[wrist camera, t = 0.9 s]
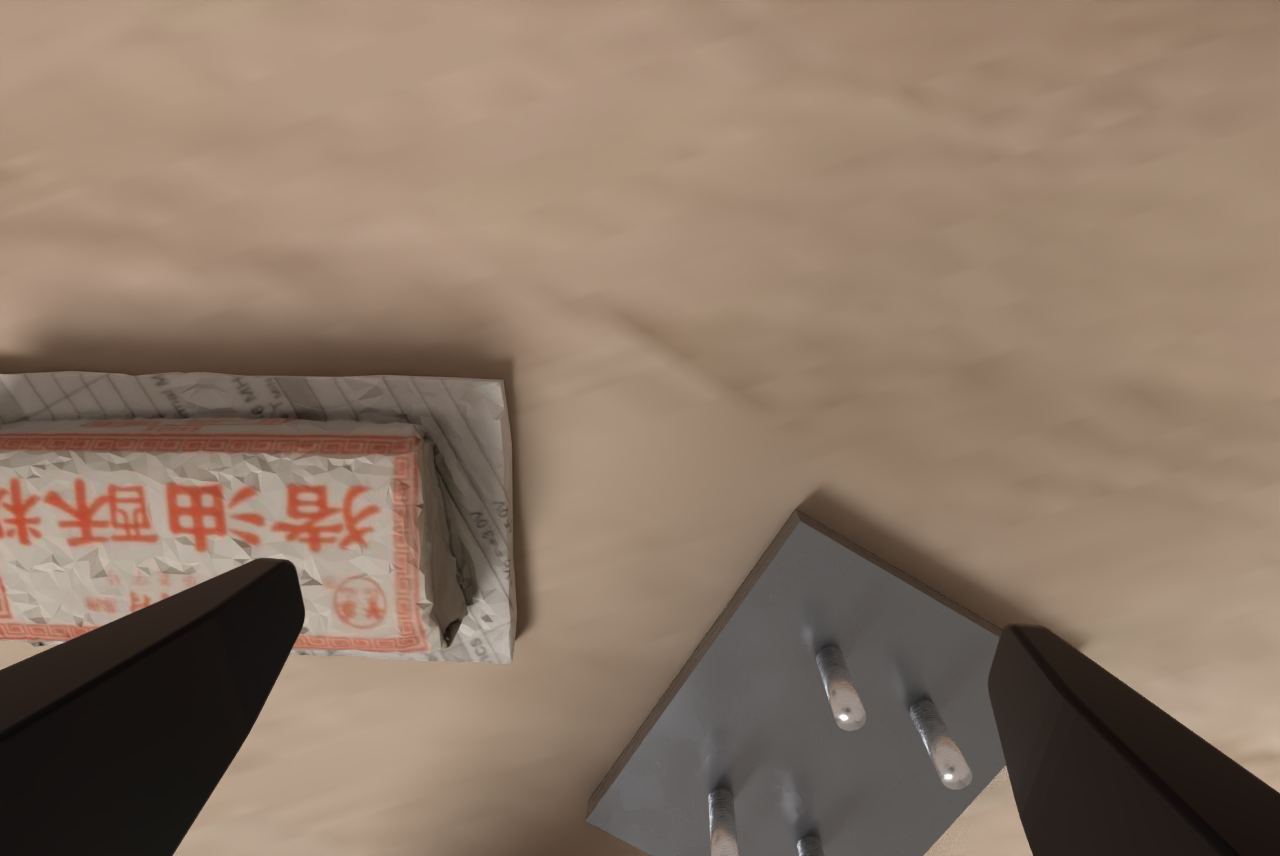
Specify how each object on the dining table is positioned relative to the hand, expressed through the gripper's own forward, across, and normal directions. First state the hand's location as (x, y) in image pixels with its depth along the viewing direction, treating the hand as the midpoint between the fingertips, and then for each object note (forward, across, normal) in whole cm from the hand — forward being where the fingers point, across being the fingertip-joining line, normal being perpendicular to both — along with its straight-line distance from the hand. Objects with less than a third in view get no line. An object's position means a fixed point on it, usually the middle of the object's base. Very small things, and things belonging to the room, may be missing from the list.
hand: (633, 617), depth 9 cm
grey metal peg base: (+12, -6, +15) cm, 20 cm away
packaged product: (+13, +14, +7) cm, 21 cm away
